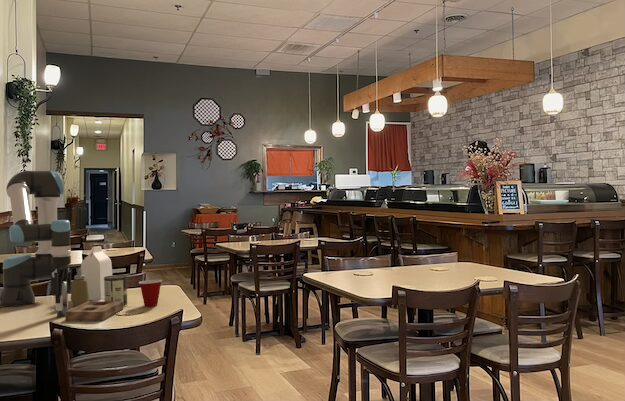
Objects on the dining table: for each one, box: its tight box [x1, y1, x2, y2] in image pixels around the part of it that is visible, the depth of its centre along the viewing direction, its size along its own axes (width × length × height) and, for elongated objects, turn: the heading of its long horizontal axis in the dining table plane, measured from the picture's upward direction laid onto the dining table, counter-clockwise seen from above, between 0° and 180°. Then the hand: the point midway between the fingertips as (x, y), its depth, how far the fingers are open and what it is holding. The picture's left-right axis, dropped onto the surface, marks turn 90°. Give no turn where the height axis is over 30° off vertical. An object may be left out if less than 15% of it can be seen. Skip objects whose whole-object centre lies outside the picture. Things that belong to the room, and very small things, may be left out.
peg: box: [56, 281, 68, 318], centre depth 222 cm, size 4×4×15 cm
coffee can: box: [104, 274, 128, 308], centre depth 241 cm, size 10×10×14 cm
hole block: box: [64, 300, 124, 322], centre depth 223 cm, size 16×20×4 cm
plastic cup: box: [138, 279, 163, 308], centre depth 242 cm, size 11×11×12 cm
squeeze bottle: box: [70, 267, 89, 307], centre depth 243 cm, size 8×8×18 cm
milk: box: [80, 245, 113, 301], centre depth 262 cm, size 12×12×26 cm
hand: (61, 309), depth 222 cm, fingers closed on peg, 4 cm apart
